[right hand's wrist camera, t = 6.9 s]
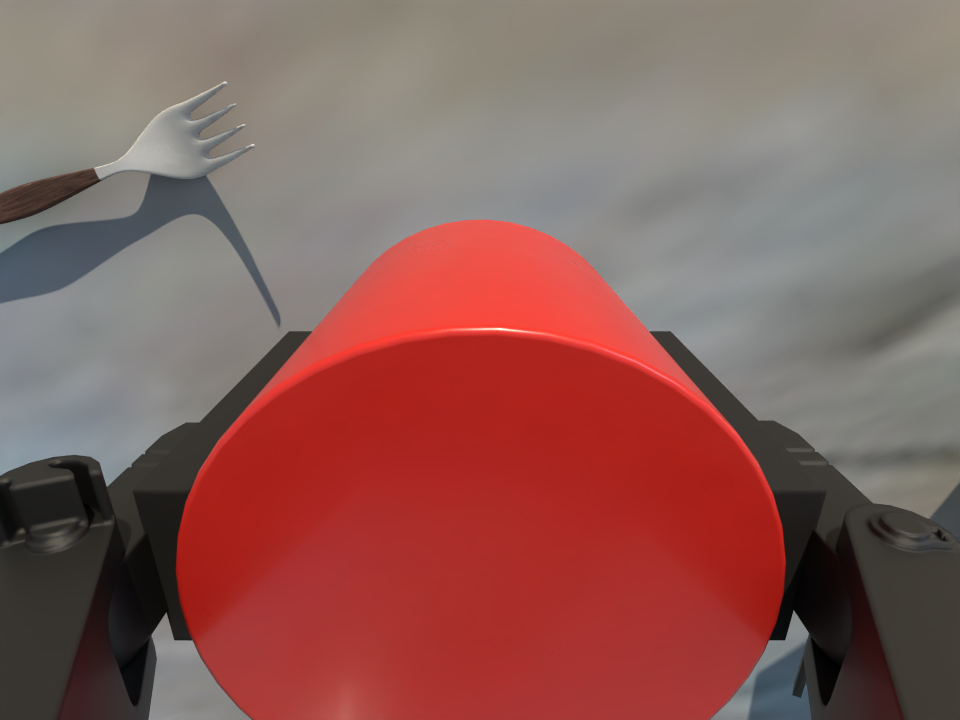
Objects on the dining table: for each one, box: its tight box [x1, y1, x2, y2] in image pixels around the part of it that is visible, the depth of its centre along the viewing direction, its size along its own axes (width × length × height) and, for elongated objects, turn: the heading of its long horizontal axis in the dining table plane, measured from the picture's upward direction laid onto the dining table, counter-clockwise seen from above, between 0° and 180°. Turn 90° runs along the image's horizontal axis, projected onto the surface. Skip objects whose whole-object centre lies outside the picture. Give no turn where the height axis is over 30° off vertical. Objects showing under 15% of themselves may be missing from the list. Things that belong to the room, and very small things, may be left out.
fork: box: [0, 82, 255, 224], centre depth 21 cm, size 3×16×2 cm, turn 108°
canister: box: [176, 220, 786, 720], centre depth 11 cm, size 8×8×8 cm
